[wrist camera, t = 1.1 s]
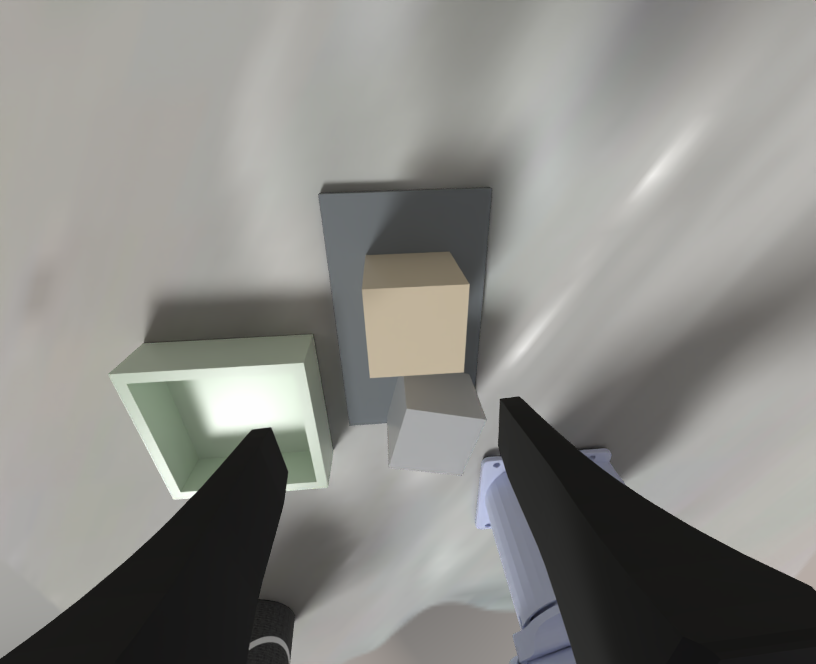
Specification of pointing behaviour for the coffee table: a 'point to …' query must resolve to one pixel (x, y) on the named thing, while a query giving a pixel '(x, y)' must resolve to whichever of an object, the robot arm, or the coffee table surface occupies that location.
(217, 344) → the green bin
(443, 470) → the matte grey cube
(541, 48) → the coffee table surface
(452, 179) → the coffee table surface
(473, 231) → the slate mat
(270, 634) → the coffee cup
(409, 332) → the tan wooden cube
